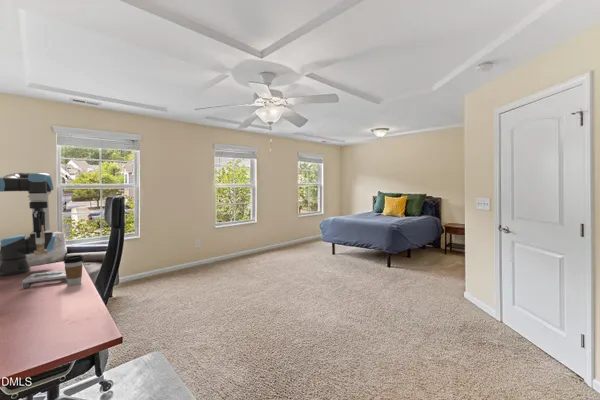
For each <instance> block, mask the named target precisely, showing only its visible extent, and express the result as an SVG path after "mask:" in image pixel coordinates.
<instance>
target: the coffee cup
mask: <svg viewBox="0 0 600 400" xmlns="http://www.w3.org/2000/svg"><path fill="white" fill-rule="evenodd" d="M83 262H84V259H83V255H81V254H78V255H76V254H75V255H70V256H67V257H65V258H64V260H63V264H64V270H65V272H66V278H67V283H66V284H67V286H69V287H72V286H77V285H81V284H82V275H83Z"/></svg>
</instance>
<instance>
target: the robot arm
mask: <svg viewBox="0 0 600 400" xmlns="http://www.w3.org/2000/svg"><path fill="white" fill-rule="evenodd" d="M52 191H54V183H53V179H52V176H51V175H50V174H49V173H45V172H16V173H11V174H6V175H4V176H3V177H0V192H28V193H27V194H28V196H27V198H29V199H28V200H29V201H30V202H29V209H30V210H31V221H32V231H31V232H30V233H29V236H26V235H25V234H20V235H14V236H8V237H5V238H2V239H1V240H0V276H11V275H19V274H23V273H27V272H30V271H31V266H30V264H29V261H28V259H27V255H28V256H29V255H34V251H36V250H37V245H36V244H43V242H42V232H41V225H43V229H44V250H47V253H51V252H53V251H54V250H55V243H56V234H54V232H53V231H52V230H51V229H50V227H51V225H50V206H49V203H50V202H49V195H50V194H51V193H52Z"/></svg>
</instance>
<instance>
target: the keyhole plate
mask: <svg viewBox="0 0 600 400" xmlns="http://www.w3.org/2000/svg"><path fill="white" fill-rule="evenodd" d="M57 279H64V280H65V283H66V284H67V278H66V272H65V269H64V270H63V269H62V270H53V271H46V272H36V273H32V274H30V275H29V276H27V277H25V278H24V279H23V280H22V281H21V284H22V285H21V286H22V287H21V288H22V289H27V288H29V287H30V283H34V282H41V281H49V280H57Z"/></svg>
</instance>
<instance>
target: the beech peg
mask: <svg viewBox="0 0 600 400" xmlns="http://www.w3.org/2000/svg"><path fill="white" fill-rule="evenodd" d="M41 232H42V242H43V244H36V245H37V250H36V251H34V254H33V255H34V256H42V255H47V254H48V252H47V250H44V229H43V225H41Z"/></svg>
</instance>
